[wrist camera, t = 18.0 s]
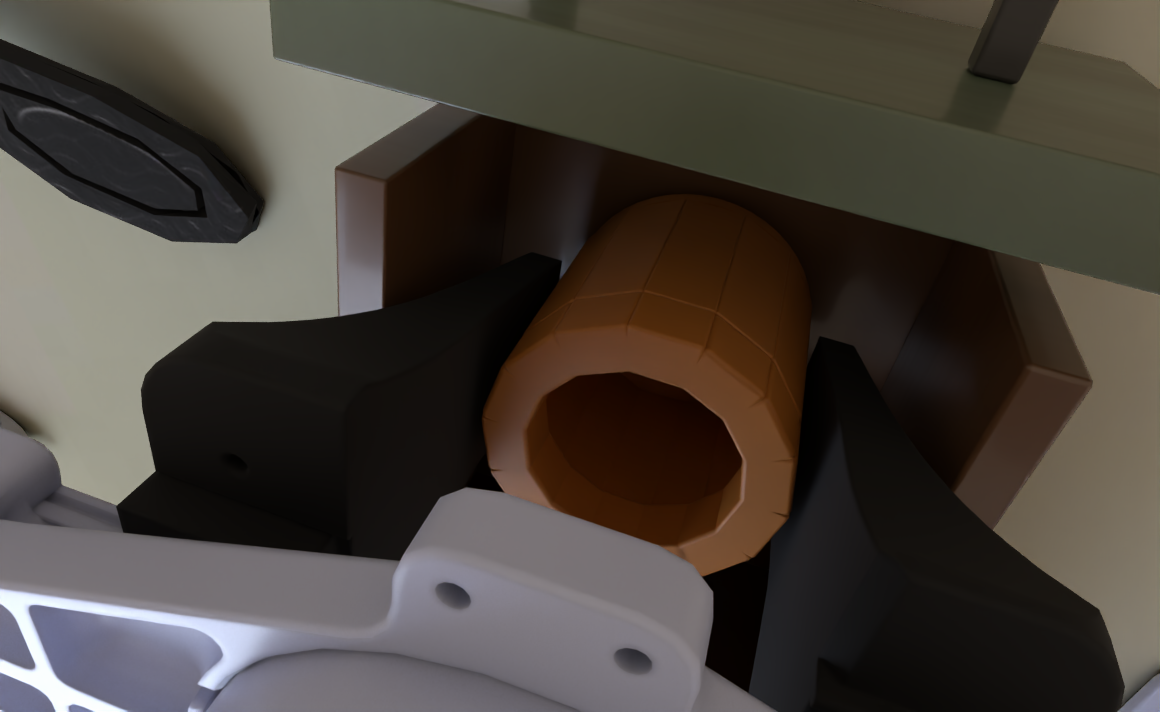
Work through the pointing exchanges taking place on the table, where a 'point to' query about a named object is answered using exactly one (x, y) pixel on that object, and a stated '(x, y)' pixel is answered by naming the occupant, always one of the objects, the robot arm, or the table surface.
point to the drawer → (771, 187)
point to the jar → (663, 383)
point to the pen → (10, 424)
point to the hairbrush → (120, 153)
